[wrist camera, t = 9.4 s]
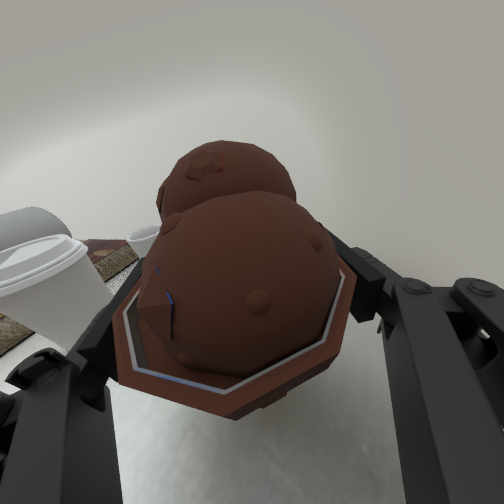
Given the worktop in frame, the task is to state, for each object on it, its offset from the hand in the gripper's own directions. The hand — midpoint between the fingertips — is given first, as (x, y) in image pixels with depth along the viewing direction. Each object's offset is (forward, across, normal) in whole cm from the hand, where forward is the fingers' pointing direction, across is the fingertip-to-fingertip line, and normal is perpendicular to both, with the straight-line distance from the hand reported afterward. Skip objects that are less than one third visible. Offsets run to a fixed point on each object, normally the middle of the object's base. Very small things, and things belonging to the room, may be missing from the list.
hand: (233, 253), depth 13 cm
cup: (+26, -18, -14) cm, 35 cm away
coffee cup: (+8, -22, -14) cm, 27 cm away
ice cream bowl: (-4, 0, -8) cm, 9 cm away
